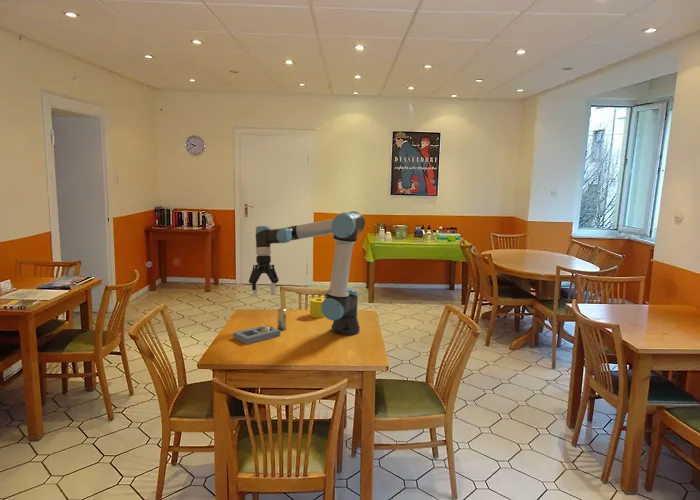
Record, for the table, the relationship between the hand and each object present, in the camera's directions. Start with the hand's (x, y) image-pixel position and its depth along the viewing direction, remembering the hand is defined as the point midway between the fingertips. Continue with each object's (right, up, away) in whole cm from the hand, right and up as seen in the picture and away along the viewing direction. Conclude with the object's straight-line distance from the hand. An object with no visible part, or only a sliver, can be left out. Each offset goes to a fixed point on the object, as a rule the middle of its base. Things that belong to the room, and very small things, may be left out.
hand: (264, 295), depth 266 cm
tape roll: (+26, -15, +32) cm, 44 cm away
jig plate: (-2, -20, -10) cm, 22 cm away
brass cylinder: (+8, -18, +3) cm, 20 cm away
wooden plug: (+1, -20, -7) cm, 21 cm away
